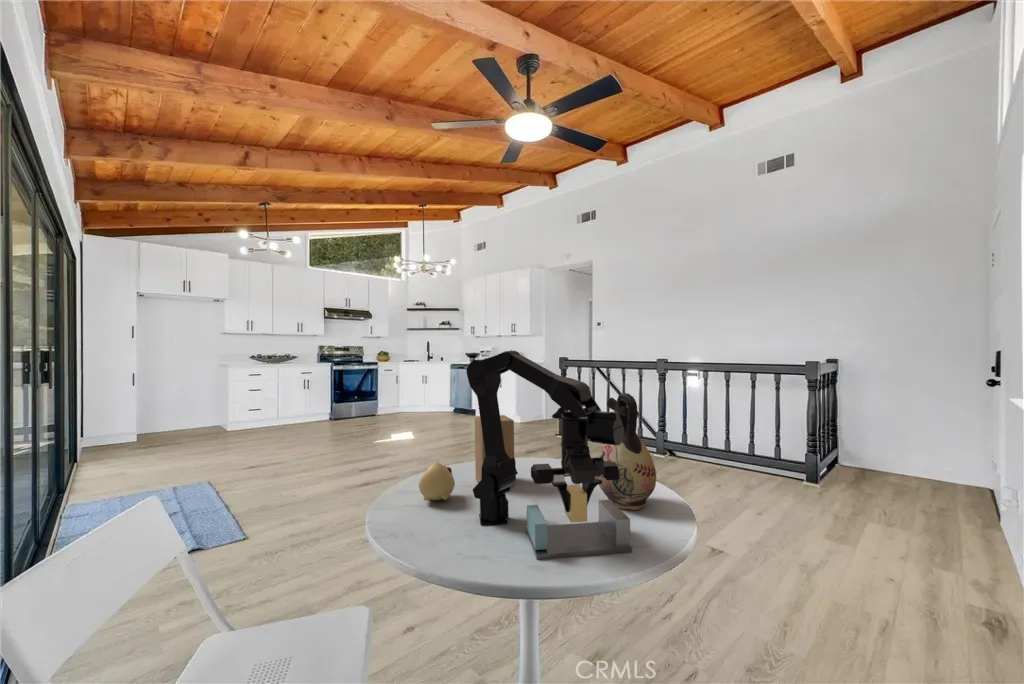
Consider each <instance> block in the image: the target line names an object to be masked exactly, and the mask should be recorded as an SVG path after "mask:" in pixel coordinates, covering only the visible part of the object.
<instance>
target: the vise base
mask: <svg viewBox="0 0 1024 684" xmlns="http://www.w3.org/2000/svg"><path fill="white" fill-rule="evenodd" d="M525 532H526V534H527V537H528V539H529V542H530V545H531V549H532V551H533V553H534V556H535V558H536V560H537V561H538V560H548V559H563V558H575V557H576V558H577V557H588V556H589V557H590V556H605V555H616V554H625V553H626V554H627V553H633V547H632V545H631V519H630V518H629V516H628V515H627V514H626V513H625V512H624V511H623V509H621V508H619V507H618V506H617V505H616V504H615V503H614V502H613V501H612V500H609V499H599V500H598V521H595V522H576V523H563V524H551V525H548V524H547V549H541V550H535V547H534V545H533V542H532V540H531V537H530V535H529V532H528V529H527V526H526V527H525Z"/></svg>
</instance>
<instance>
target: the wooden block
mask: <svg viewBox="0 0 1024 684" xmlns="http://www.w3.org/2000/svg"><path fill="white" fill-rule="evenodd" d="M500 419H501V426H502V433H503V440H504V447H505V452H506V453H507V455H508V456H509V458H515V421H514V419H512V418H510V417H508V416H506V414H505V415H504V414H500ZM474 457H475V458H474V459H475V461H474V462H475V463H474V464H475V465H474V467H475V480H477V481H478V482H477V481H476V482H477V484H478V483H479V482H480V481H481V468H482V464H483V461H484V458H485V448H484V441H483V434H482V427H481V420H480V416H475V417H474ZM515 483H516V481H515V482H514V483H513V485H512V486H511V487H514V486H515Z"/></svg>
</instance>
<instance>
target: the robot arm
mask: <svg viewBox="0 0 1024 684" xmlns="http://www.w3.org/2000/svg"><path fill="white" fill-rule="evenodd" d="M508 371H510V372H512V373H514V374H516V375H517V376H519V377H521V378H523V379H524V380H526V381H528V382H529V383H531V384H533V385H535V386H537V387H538V388H539V389H542V391H543V390H544V391H545V392H546V394H547V395H548V397H549V398H550V400H552V402H554V403H555V404H556V405H558V406H559V408H558V409H557V410H556V412H554V413H553V414H552V415H551V417H552V418H553V419H556V420H560V421H561V422H560V423H561V430H560V431H561V434H560V435H561V441H560V448H561V459H560V465H561V467H553V468H552V466H551V465H550V464H549V463H536V464H535V463H533V464H532V466H531V467H530V477H531V479H532V481H533V483H534V485H541V484H542V485H545V484H547V485H548V484H551V485H552V487H556V489H557V490H558V494H559V496H560V499H561V502H562V504H563V509H564V508H565V511H566V512H568V497H567V485H568V483H567V482H566V481H565V478H566V477H570V481H571V483H572V484H573V485H581V487H582V488H583V489H584V491H585V492H586V493H587V506H588V505H589V502H590V499H591V497H592V494H593V492H594V489H595V488H596V487H598V486H599V484H602V481H601V480H600V477H601V475H603V477H604V478H605V479H606V480H619V479H620V469H619V467H618V466H617V465H615V464H614V463H613V462H611V461H604V460H603V458H602V457H600V456H599V457H591V454H590V447H589V440H590V442H591V443H595V444H603V445H605V444H610V445H620V444H621V442H622V439H623V435H624V426H623V424H622V420H621V419H620V418H619V412H615V411H602V409H601V408H600V406H599V404H598V403H597V401H596V400H595V399H594V396H592V392H591V388H590V386H589V385H588V383H586V382H584V381H581V380H578V379H575V378H572V377H567V376H563V375H559V374H557V373H555V372H553V371H552V370H549V369H547V368H545V367H544V366H542V365H540V364H538V363H536V362H535V361H533V360H531V359H529V358H527V357H526V356H523V354H521V353H519V351H516V350H504V351H502V352H499V353H498V354H496V355H494V356H491V357H487V358H484V359H473V360H471V362H469V364H468V365H467V367H466V371H465V372H466V377H467V380H468V383H469V387H470V388H471V389H472V391H473V393H474V394H475V396H476V397H477V405H478V411H479V412H478V413H479V417H480V420H481V427H482V434H483V441H484V448H485V458H484V461H483V464H482V468H481V481H480V482H479V483H478V482H477V484H476V485H475V486H474V487H473V488H472V493H473V497H474V498H475V499H478V500H479V514H478V517H479V523H480V525H481V526H486V525H501V524H503V525H505V524H508V519H509V515H510V514H509V501H508V500H509V499H508V498H507V495H506V493H509V492H510V491H511V489H512V487H513V486H512V485H513V483H514V482H515V483H516V480H517V475H518V471H517V468H516V467H517V466H516V459H515V457H514V458H509V456H508V455H507V453H506V452H505V447H504V440H503V433H502V426H501V419H500V415H501V414H500V408H499V407H500V405H499V399H498V391H499V387H500V385H501V382H502V381H501V380H502V377H501V375H502V374H504V373H506V372H508Z"/></svg>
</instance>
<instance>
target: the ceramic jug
mask: <svg viewBox="0 0 1024 684" xmlns="http://www.w3.org/2000/svg"><path fill="white" fill-rule="evenodd" d="M606 406H607V408H609V409H610V410H612V411H613V412H619V418H620V419H621V420H622V424H623V426H624V435H623V439H622V442H621V444H620V445H610V444H604V446H603V448H602V450H601V452H600V454H599V457H602V458H603V460H604V461H611V462H613V463H614V464H615V465H617V466H618V467H619V469H620V479H619V480H606V479H605V478H604V477H603V475H601V477H600V480H601V481H602V484H598V487H599V488H600V490H601V491H602V492H603V494H604V495H605V496H606V497H607V500H612V501H613V502H614V503H615V504H616V505H617V506H618V507H619V508H620V509H621V508H622V509H621V510H628V509H629V510H631V511H637V510H640V509H642V508H644V507H646V505H647V500H648V498H649V497H650V496H651V495H652V494H653V492H654V490H655V488H656V484H657V471H656V467H655V463H654V460H653V457H652V455H651V453H650V450H648V448H647V446H646V445H645V443H644V441H643V440H642V439H641V438H640V437H639V435H638V433H637V426H638V424H637V423H638V412H639V411H638V405H637V400H636V399H635V397H634V396H633V395H632V394H630V393H628V392H624V393H621V394H619V395H618V397H617V399H615V398H614V397H609V399H608V400H607V402H606Z"/></svg>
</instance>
